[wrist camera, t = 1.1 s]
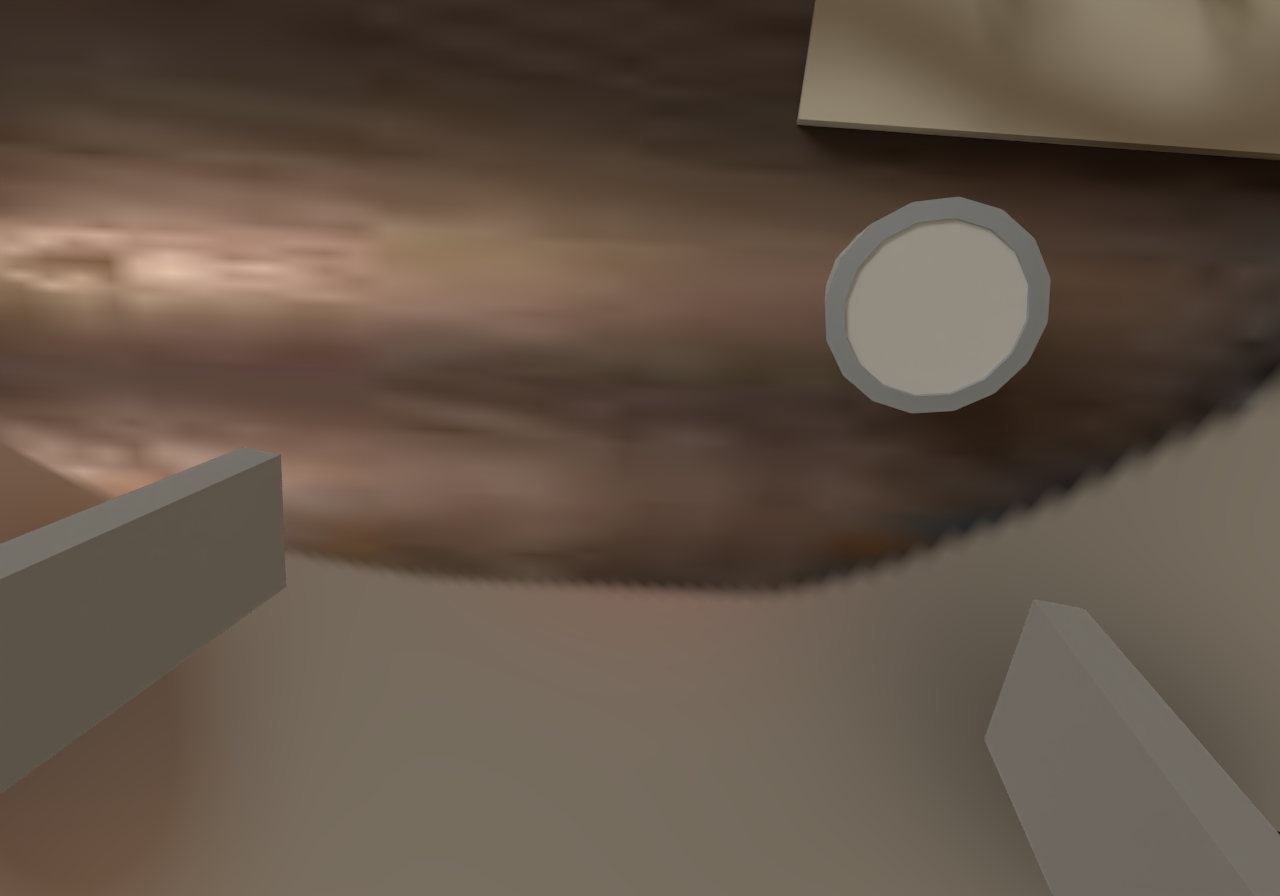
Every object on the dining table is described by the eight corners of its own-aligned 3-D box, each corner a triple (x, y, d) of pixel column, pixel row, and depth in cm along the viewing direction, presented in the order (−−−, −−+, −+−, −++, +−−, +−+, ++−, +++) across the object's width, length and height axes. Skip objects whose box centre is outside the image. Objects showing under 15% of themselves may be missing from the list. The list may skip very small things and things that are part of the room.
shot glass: (869, 172, 27) (904, 154, 21) (1020, 256, 27) (1104, 264, 21) (779, 325, 29) (784, 352, 23) (918, 402, 29) (962, 451, 23)
